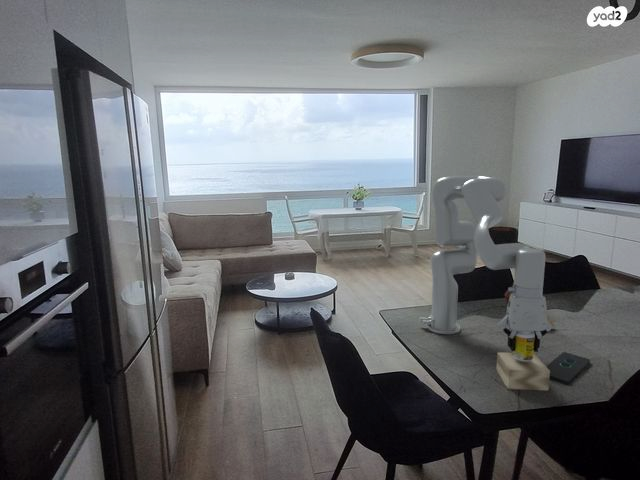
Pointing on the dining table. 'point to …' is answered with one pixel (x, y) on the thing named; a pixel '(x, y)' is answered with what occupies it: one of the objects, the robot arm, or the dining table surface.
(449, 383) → the dining table surface
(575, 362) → the smart home device
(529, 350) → the supplement bottle
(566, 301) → the dining table surface
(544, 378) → the oak block
